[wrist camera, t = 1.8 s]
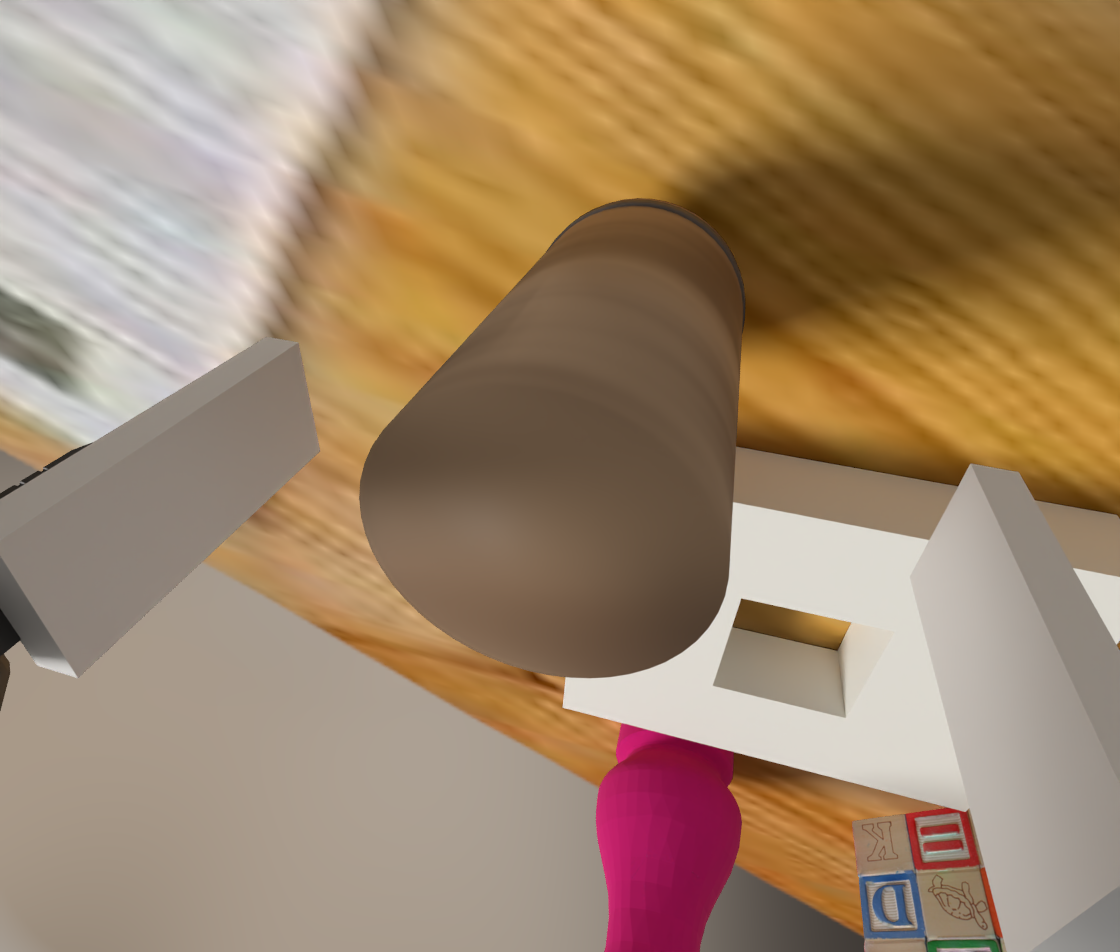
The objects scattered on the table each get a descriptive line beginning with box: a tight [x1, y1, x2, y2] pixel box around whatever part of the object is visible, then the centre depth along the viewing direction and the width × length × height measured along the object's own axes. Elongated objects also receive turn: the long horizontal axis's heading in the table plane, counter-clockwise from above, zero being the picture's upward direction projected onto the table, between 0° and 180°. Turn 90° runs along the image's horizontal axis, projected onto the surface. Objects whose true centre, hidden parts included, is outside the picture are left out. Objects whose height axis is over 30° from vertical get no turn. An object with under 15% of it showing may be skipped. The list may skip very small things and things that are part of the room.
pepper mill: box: [596, 723, 742, 952], centre depth 28 cm, size 7×7×20 cm
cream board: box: [563, 447, 1120, 812], centre depth 26 cm, size 14×18×4 cm
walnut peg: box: [359, 198, 745, 678], centre depth 16 cm, size 6×6×14 cm
